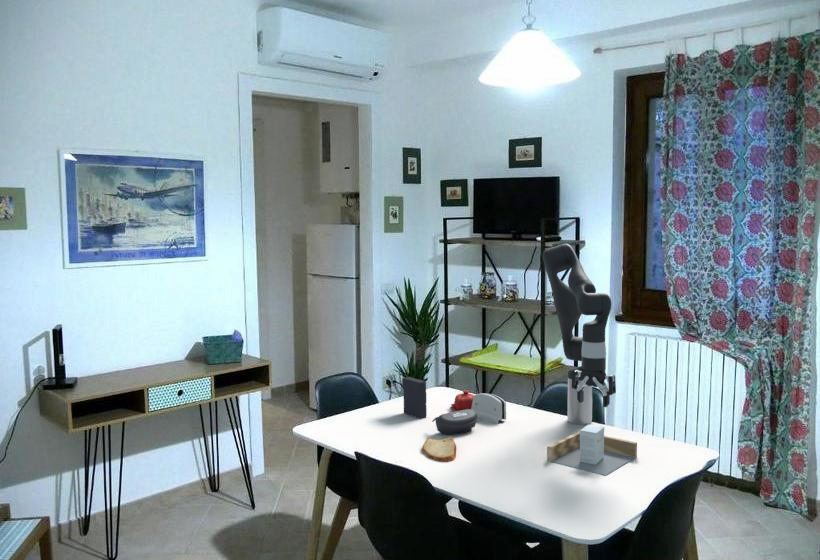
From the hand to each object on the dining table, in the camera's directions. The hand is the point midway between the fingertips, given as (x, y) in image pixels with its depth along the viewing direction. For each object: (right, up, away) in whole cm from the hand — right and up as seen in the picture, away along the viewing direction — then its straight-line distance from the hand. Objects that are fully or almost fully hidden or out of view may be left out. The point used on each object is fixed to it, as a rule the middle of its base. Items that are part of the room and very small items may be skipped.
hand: (593, 404), depth 222 cm
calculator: (-57, -15, +56) cm, 81 cm away
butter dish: (-36, -14, +65) cm, 76 cm away
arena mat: (+1, -19, +2) cm, 19 cm away
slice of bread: (-48, -19, +12) cm, 53 cm away
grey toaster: (-29, -15, +52) cm, 61 cm away
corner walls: (+1, -19, +3) cm, 19 cm away
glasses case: (-42, -17, +35) cm, 57 cm away
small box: (0, -19, +2) cm, 19 cm away
